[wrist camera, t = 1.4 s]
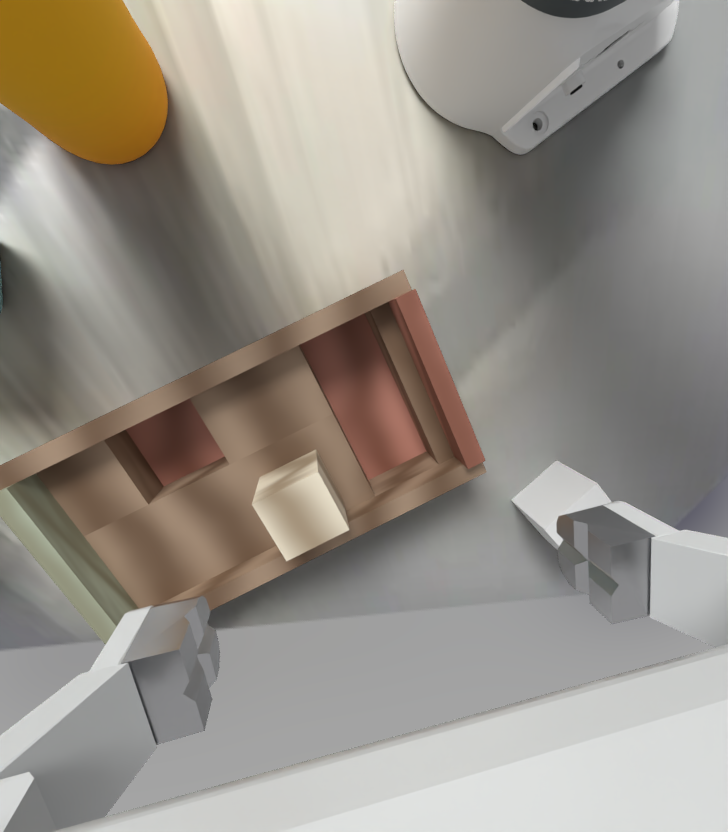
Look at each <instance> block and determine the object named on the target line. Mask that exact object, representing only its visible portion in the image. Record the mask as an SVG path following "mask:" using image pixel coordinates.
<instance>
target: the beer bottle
mask: <svg viewBox="0 0 728 832" xmlns="http://www.w3.org/2000/svg"><path fill="white" fill-rule="evenodd" d="M0 103H1V104H3V105H4V106H5V107H7V108H8V109H10V110H11V111H12V112H14V113H15V114H17V115H18V116H20V117H21V118H22V119H24V120H25V121H26V122H28V123H29V124H30V125H32V126H33V127H34V128H36V129H37V130H38V131H39V132H41V133H42V134H43V135H44V136H46V137H47V138H48V139H50V140H51V141H53V142H54V143H55V144H57V145H58V146H60V147H61V148H63V149H64V150H66V151H68V152H70V153H72V154H74V155H76V156H78V157H80V158H83V159H86V160H89V161H93V162H96V163H101V164H111V165H112V164H123V163H127V162H130V161H133V160H135V159H137V158H139V157H141V156H143V155H144V154H146V153H147V152H148V151H149V150H150V149H151V148H152V147H153V146H154V145H155V143H156V142H157V141H158V139H159V138H160V136H161V134H162V131H163V129H164V127H165V123H166V118H167V110H168V99H167V91H166V85H165V81H164V78H163V74H162V71H161V68H160V66H159V64H158V61H157V59H156V57H155V55H154V53H153V51H152V49H151V47H150V45H149V44H148V42H147V40H146V39H145V37H144V36H143V34H142V33H141V31H140V30H139V28H138V26H137V25H136V23H135V21H134V20H133V18H132V16H131V14H130V13H129V11H128V9H127V7H126V6H125V4H124V2H123V1H122V0H0Z"/></svg>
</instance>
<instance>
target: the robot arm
mask: <svg viewBox="0 0 728 832" xmlns="http://www.w3.org/2000/svg"><path fill="white" fill-rule="evenodd" d="M678 9H679V0H395V3H394V24H395V34H396V40H397V45H398V49H399V53H400V56H401V59H402V62H403V65H404V68H405V70H406V72H407V74H408V76H409V78H410V80H411V82H412V84H413V85H414V87H415V88H416V90H417V91H418V93H419V94H420V96H421V97H422V98H423V99H424V100H425V102H426V103H427V104H428V105H429V106H430V107H431V108H432V109H434V110H435V111H436V112H437V113H438V114H440V115H441V116H442V117H444V118H445V119H447V120H449V121H450V122H452V123H454V124H456V125H459V126H461V127H464V128H467V129H472V130H476V131H480V132H483V133H486V134H489V135H491V136H492V137H494V138H495V139H496V140H497V141H498V142H499V143H501V144H502V145H503V146H504V147H505V148H507V149H508V150H510V151H511V152H513V153H515V154H519V155H522V154H525V153H527V152H529V151H531V150H532V149H533V148H534V147H536V146H537V145H538V144H540V143H541V142H542V141H544V140H545V139H546V138H548V137H549V136H550V135H551V134H553V133H554V132H555V131H557V130H558V129H559V128H561V127H562V126H563V125H565V124H566V123H567V122H569V121H570V120H571V119H572V118H574V117H575V116H576V115H578V114H579V113H580V112H582V111H583V110H584V109H586V108H587V107H588V106H589V105H591V104H592V103H593V102H595V101H596V100H597V99H599V98H600V97H601V96H603V95H604V94H605V93H606V92H608V91H609V90H610V89H612V88H613V87H614V86H616V85H617V84H618V83H620V82H621V81H622V80H623V79H625V78H626V77H627V76H629V75H630V74H631V73H633V72H634V71H635V70H637V69H638V68H639V67H640V66H642V65H643V64H644V63H646V62H647V61H648V60H650V59H651V58H652V57H653V56H655V55H656V54H657V53H658V52H659V51H660V50H662V49H663V48H664V47H665V46H666V45H667V44H668V43H669V42H670V40H671V39H672V36H673V33H674V30H675V26H676V21H677V16H678ZM533 122H534V123H536V124H537V126H538V130H537V131H536V130H534V128H533ZM556 526H557V534H558V535H559V536H560V537H561V538H562V539H563V541H562V543H561V544H560V546H559V548H558V562H559V565H560V568H561V570H562V573H563V575H564V577H565V578H566V580H567V581H568V583H569V584H570V585H571V586H572V587H573V588H574V589H575V590H577V591H580V592H582V593H585V594H588V595H589V599H590V604H591V605H592V606H593V607H594V608H595V609H596V610H597V611H598V612H599V613H601V614H602V615H603V616H604V617H605V618H606V619H607V620H608V621H609V622H610V623H611V624H615V623H620V622H624V621H628V620H633V619H637V618H641V617H646V616H650V618H652V619H654V620H656V621H658V622H661V623H663V624H665V625H667V626H669V627H671V628H674V629H676V630H678V631H680V632H682V633H684V634H687V635H689V636H691V637H693V638H695V639H697V640H700V641H702V642H704V643H706V644H708V645H710V646H713V647H715V648H712V649H708V650H705V651H701V652H697V653H694V654H690V655H686V656H683V657H679V658H675V659H672V660H668V661H665V662H661V663H657V664H654V665H650V666H647V667H643V668H639V669H636V670H632V671H629V672H625V673H621V674H618V675H614V676H611V677H607V678H603V679H599V680H596V681H592V682H589V683H585V684H581V685H578V686H574V687H571V688H567V689H563V690H560V691H556V692H552V693H549V694H545V695H542V696H538V697H535V698H531V699H528V700H524V701H520V702H517V703H513V704H509V705H506V706H503V707H499V708H495V709H492V710H488V711H484V712H481V713H477V714H474V715H470V716H467V717H463V718H459V719H456V720H453V721H449V722H445V723H442V724H438V725H435V726H431V727H427V728H424V729H420V730H417V731H413V732H409V733H406V734H402V735H398V736H395V737H391V738H388V739H384V740H380V741H377V742H373V743H370V744H366V745H363V746H359V747H355V748H352V749H348V750H344V751H341V752H337V753H333V754H330V755H326V756H323V757H319V758H315V759H312V760H309V761H305V762H301V763H297V764H294V765H291V766H287V767H284V768H279V769H276V770H272V771H269V772H265V773H262V774H258V775H255V776H250V777H247V778H243V779H240V780H237V781H232V782H229V783H225V784H222V785H218V786H214V787H211V788H208V789H204V790H200V791H197V792H193V793H189V794H186V795H182V796H178V797H175V798H171V799H168V800H164V801H160V802H157V803H153V804H149V805H146V806H143V807H139V808H135V809H132V810H128V811H124V812H121V813H117V814H113V815H110V816H107V817H105V816H106V815H107V813H108V812H109V811H110V809H111V808H112V807H113V805H114V804H115V803H116V801H117V800H118V799H119V797H120V796H121V795H122V793H123V792H124V791H125V789H126V788H127V787H128V785H129V784H130V783H131V781H132V780H133V779H134V777H135V776H136V775H137V773H138V772H139V771H140V770H141V768H142V767H143V766H144V764H145V763H146V762H147V760H148V759H149V758H150V756H151V755H152V754H153V752H154V751H155V750H156V748H157V745H158V744H161V743H165V742H168V741H172V740H175V739H178V738H182V737H185V736H188V735H192V734H195V733H199V732H202V731H205V726H206V722H207V718H208V714H209V710H210V706H211V701H212V697H211V693H210V690H209V688H210V687H211V685H212V684H213V683H214V682H215V681H216V679H217V675H218V671H219V662H220V661H219V659H220V650H219V643H218V638H217V634H216V630H215V629H213V628H212V627H210V626H209V625H208V624H207V623H208V619H209V616H210V613H211V612H210V609H209V606H208V603H207V599H206V598H205V597H204V596H197V597H192V598H187V599H182V600H178V601H173V602H168V603H163V604H158V605H155V606H148V607H144V608H139V609H135V610H131V611H129V612H127V613H125V614H124V616H123V617H122V619H121V621H120V622H119V624H118V625H117V627H116V629H115V630H114V632H113V634H112V635H111V637H110V638H109V640H108V642H107V643H106V645H105V647H104V648H103V650H102V652H101V653H100V655H99V656H98V658H97V659H96V661H95V663H94V665H93V666H92V668H91V669H90V671H89V672H86V673H82V674H79V676H77V677H76V678H74V679H73V680H72V681H70V682H69V683H68V684H67V685H65V686H64V687H63V688H61V689H60V690H59V691H58V692H56V693H55V694H54V695H52V696H51V697H50V698H49V699H47V700H46V701H45V702H43V703H42V704H41V705H39V706H38V707H37V708H36V709H34V710H33V711H32V712H30V713H29V714H28V715H26V716H25V717H24V718H23V719H21V720H20V721H19V722H17V723H16V724H15V725H13V726H12V727H11V728H10V729H8V730H7V731H6V732H4V733H3V734H2V735H1V736H0V832H728V538H726V537H720V536H715V535H710V534H705V533H700V532H695V531H690V530H682V531H678V530H676V529H675V528H673V527H671V526H669V525H667V524H665V523H663V522H661V521H660V520H658V519H656V518H654V517H652V516H650V515H648V514H646V513H645V512H643V511H641V510H639V509H637V508H635V507H633V506H631V505H630V504H628V503H626V502H623V501H615V502H611V503H607V504H603V505H600V506H597V507H593V508H589V509H585V510H581V511H577V512H573V513H569V514H565V515H561V516H558V519H557V523H556Z"/></svg>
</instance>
